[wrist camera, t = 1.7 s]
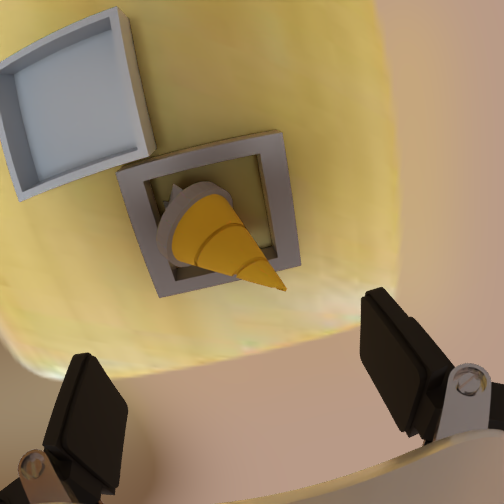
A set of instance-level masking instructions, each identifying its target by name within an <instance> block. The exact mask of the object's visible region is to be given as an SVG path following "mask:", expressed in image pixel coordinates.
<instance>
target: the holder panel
mask: <svg viewBox="0 0 504 504" xmlns="http://www.w3.org/2000/svg"><path fill="white" fill-rule="evenodd" d="M255 154H256V156H257V161H258V166H259V172H260V177H261V183H262V188H263V194H264V200H265V205H266V211H267V216H268V222H269V228H270V234H271V239H272V245H273V246H271V247H267V248H262V249H260V250H261V251H262V253H263V254H264V255H265V257H266V258H267V260H268V261H269V263H270V264H271V266H272V267H273V269H274V270H275V272H276V271H280V270H284V269H289V268H293V267H297V266H301V258H300V250H299V242H298V235H297V227H296V220H295V212H294V205H293V198H292V191H291V185H290V178H289V171H288V165H287V158H286V152H285V146H284V140H283V134H282V132H280V131H277V130H272V131H266V132H260V133H255V134H250V135H245V136H240V137H235V138H230V139H226V140H221V141H216V142H212V143H208V144H203V145H199V146H195V147H191V148H187V149H183V150H179V151H175V152H171V153H167V154H164V155H160V156H156V157H153V158H149V159H146V160H142V161H139V162H136V163H132V164H129V165H126V166H122V167H121V168H120V169H119V170H118V171H117V172H115V173H116V176H117V180H118V183H119V186H120V190H121V193H122V196H123V199H124V202H125V205H126V209H127V212H128V215H129V218H130V221H131V224H132V227H133V229H134V232H135V235H136V238H137V241H138V244H139V247H140V249H141V252H142V255H143V257H144V260H145V263H146V266H147V268H148V271H149V273H150V276H151V279H152V281H153V284H154V286H155V289H156V291H157V294H158V296H159V298H162V297H166V296H171V295H175V294H180V293H184V292H189V291H193V290H198V289H202V288H207V287H211V286H216V285H220V284H225V283H229V282H233V281H238V280H242V279H239V278H236V277H237V275H236V274H235V275H234V276H228V275H225V274H221V273H218V272H215V271H211V270H208V269H204V268H201V267H197V266H194V265H191V266H188V267H180V268H177V267H176V266H175V265H173V264H172V263H171V262H170V261H169V260H167V259H166V258H165V257H164V256H163V255H162V254H161V253H160V252H159V249H158V247H157V242H156V237H157V230H158V225H159V223H160V220H161V217H160V214H159V211H158V207H157V204H156V201H155V197H154V194H153V190H152V187H151V183H150V179H154V178H157V177H161V176H165V175H168V174H172V173H176V172H180V171H184V170H188V169H192V168H196V167H200V166H204V165H209V164H213V163H217V162H222V161H226V160H231V159H236V158H240V157H245V156H250V155H255Z"/></svg>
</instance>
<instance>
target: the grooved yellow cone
mask: <svg viewBox="0 0 504 504" xmlns="http://www.w3.org/2000/svg"><path fill="white" fill-rule="evenodd" d="M163 202H164V206H165V212H164V214H163V215H162V218H161V220H160V223H159V225H158V230H157V237H156V242H157V247H158V249H159V252H160V253H161V254H162V255H163V256H164V257H165V258H166V259H167V260H169V261H170V262H171V263H172V264H173V265H175V266H177V267H188V266H191V265H194V266H197V267H201V268H204V269H208V270H211V271H215V272H218V273H221V274H225V275H228V276H234V275H235V274H236V275H237V277H236V278H239V279H243V280H246V281H250V282H253V283H257V284H260V285H264V286H268V287H276V288H277V289H279V290H282V291H286V290H287V288H286V287H285V285H284V284H283V282H282V281H281V279H280V278H279V276H278V275H277V273H276V272H275V270H274V269H273V267H272V266H271V264H270V263H269V261H268V260H267V258H266V257H265V255H264V254H263V253H262V251H261V250H260V248H259V247H258V245H257V244H256V242H255V241H254V239H253V238H252V236H251V235H250V233H249V232H248V231H247V229H246V228H245V226H244V225H243V223H242V222H241V220H240V219H239V217H238V216H237V214H236V213H235V211H234V210H233V201H232V198H231V195H230V194H229V193H228V192H227V191H226V190H224V189H222V188H221V187H219V186H217V185H216V184H214V183H212V182H208V181H204V182H198V183H195V184H193V185H191V186H189V187H187V188H186V189H184V190H183V189H181V188H180V187H178V186H177V185H175V184H174V183H173V187H172V191H171V195H170V199H169V202H167V201H163Z"/></svg>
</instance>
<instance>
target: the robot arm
mask: <svg viewBox="0 0 504 504" xmlns="http://www.w3.org/2000/svg"><path fill="white" fill-rule="evenodd" d="M360 358H361V361H362V363H363V365H364V367H365V368H366V370H367V372H368V374H369V375H370V377H371V379H372V381H373V383H374V384H375V386H376V388H377V390H378V391H379V393H380V395H381V397H382V399H383V401H384V402H385V404H386V406H387V408H388V410H389V411H390V413H391V415H392V417H393V419H394V421H395V423H396V424H397V426H398V428H399V430H400V431H401V432H404V431H405V432H406V433H407V435H408V437H409V438H410V437H412V436H414V435H416V434H418V433H419V435H420V437H421V438H422V439H424V441H423V445H422V447H420V448H418V449H415V450H413V451H410V452H408V453H406V454H403V455H401V456H399V457H396V458H393V459H391V460H388V461H386V462H383V463H381V464H378V465H375V466H373V467H370V468H367V469H364V470H361V471H358V472H355V473H352V474H350V475H346V476H343V477H340V478H337V479H334V480H331V481H327V482H324V483H320V484H316V485H313V486H309V487H305V488H301V489H297V490H293V491H289V492H284V493H279V494H274V495H270V496H264V497H259V498H253V499H247V500H240V501H234V502H226V503H218V504H504V384H499V383H494V382H491V378H490V376H489V374H488V372H487V371H486V370H485V369H484V368H483V367H481V366H479V365H476V364H472V363H465V364H462V365H458V366H457V367H454V365H453V364H452V363H451V362H450V360H449V359H448V358H447V357H446V355H445V354H444V353H443V352H442V351H441V349H440V348H439V347H438V346H437V345H436V343H435V342H434V341H433V340H432V338H431V337H430V336H429V335H428V334H427V333H426V331H425V330H424V329H423V328H422V327H421V325H420V324H419V323H418V322H417V321H416V320H415V319H414V318H413V317H408V315H407V314H406V313H405V312H404V311H403V310H402V308H401V307H400V306H399V305H398V304H397V303H396V302H395V300H394V299H393V298H392V297H391V296H390V295H389V294H388V292H387V291H386V290H385V289H384V288H383V287H379V288H376V289H373V290H369V291H367V292H366V293H365V296H364V297H362V298H361V331H360ZM127 415H128V407H127V404H126V402H125V400H124V399H123V398H122V396H121V395H120V393H119V392H118V390H117V389H116V388H115V386H114V385H113V383H112V382H111V380H110V379H109V377H108V376H107V374H106V372H105V371H104V369H103V368H102V366H101V365H100V363H99V361H98V360H97V358H96V357H95V356H92V355H91V354H90V353H81V354H75V355H74V356H73V357H72V360H71V362H70V365H69V367H68V370H67V373H66V375H65V378H64V381H63V383H62V386H61V389H60V392H59V394H58V397H57V400H56V403H55V406H54V409H53V412H52V415H51V418H50V421H49V424H48V427H47V430H46V434H45V437H44V441H43V444H42V445H43V446H44V447H45V448H44V452H43V451H42V450H38V449H33V450H30V451H28V452H26V453H25V454H24V455H23V456H22V458H21V459H20V461H19V464H18V474H19V478H17V479H16V480H15V481H13V482H12V483H11V484H9V485H8V486H7V487H5V488H4V489H3V490H1V491H0V504H104V503H103V502H102V501H101V499H100V498H101V494H106V495H115V488H117V487H118V486H119V479H120V469H121V460H122V452H123V444H124V436H125V428H126V422H127Z"/></svg>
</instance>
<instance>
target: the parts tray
mask: <svg viewBox="0 0 504 504" xmlns="http://www.w3.org/2000/svg"><path fill="white" fill-rule="evenodd" d="M0 140H1V144H2V148H3V152H4V155H5V159H6V162H7V166H8V169H9V172H10V176H11V179H12V182H13V185H14V188H15V191H16V194H17V197H18V200H19V202H21V201H23V200H26V199H28V198H31V197H33V196H35V195H38V194H40V193H43V192H45V191H48V190H50V189H53V188H56V187H58V186H61V185H63V184H66V183H69V182H72V181H74V180H77V179H80V178H83V177H86V176H88V175H91V174H94V173H97V172H100V171H103V170H106V169H109V168H112V167H116V166H119V165H122V164H125V163H128V162H132V161H135V160H138V159H142V158H145V157H149V156H150V155H151V154H152V153H153V152H154V151H155V150H156V149H157V146H156V142H155V138H154V134H153V130H152V126H151V122H150V118H149V113H148V109H147V105H146V100H145V96H144V91H143V87H142V82H141V78H140V73H139V68H138V63H137V58H136V53H135V48H134V43H133V38H132V32H131V27H130V21H129V18H128V17H127V16H126V15H125V14H124V13H123V12H122V11H121V10H120V9H119V8H118V7H117V6H116V7H113V8H110V9H107V10H105V11H102V12H99V13H97V14H94V15H92V16H89V17H87V18H84V19H82V20H80V21H77V22H75V23H73V24H70V25H68V26H66V27H64V28H62V29H60V30H58V31H55V32H53V33H51V34H49V35H47V36H45V37H43V38H41V39H40V40H38V41H36V42H34V43H32V44H30V45H28V46H27V47H25V48H23V49H21V50H20V51H18V52H16V53H15V54H13V55H11V56H10V57H8V58H6V59H5V60H3V61H1V62H0Z"/></svg>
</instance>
